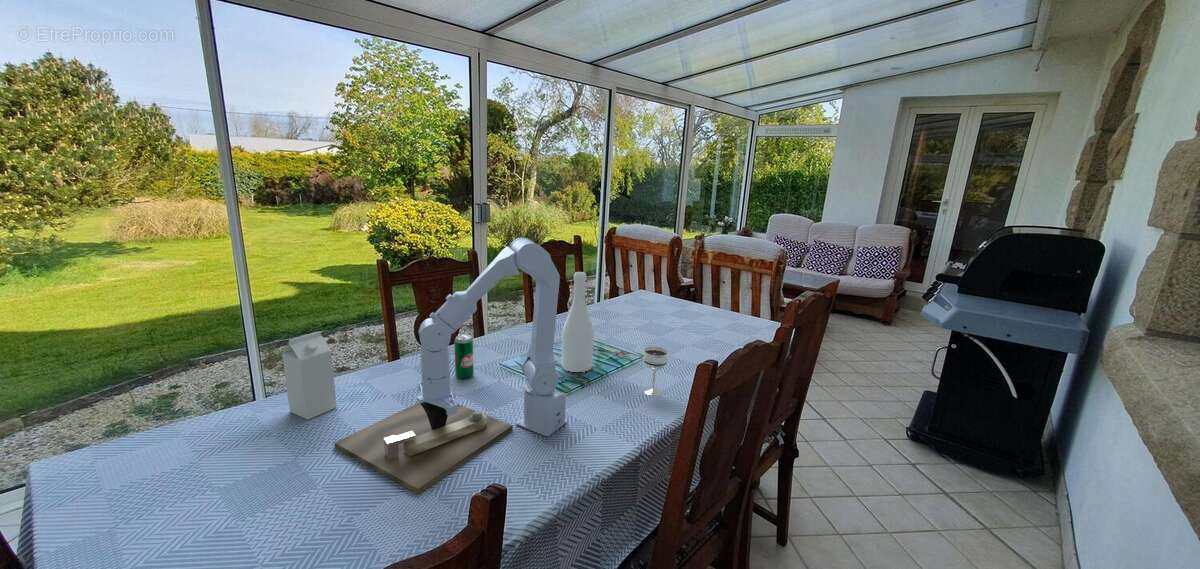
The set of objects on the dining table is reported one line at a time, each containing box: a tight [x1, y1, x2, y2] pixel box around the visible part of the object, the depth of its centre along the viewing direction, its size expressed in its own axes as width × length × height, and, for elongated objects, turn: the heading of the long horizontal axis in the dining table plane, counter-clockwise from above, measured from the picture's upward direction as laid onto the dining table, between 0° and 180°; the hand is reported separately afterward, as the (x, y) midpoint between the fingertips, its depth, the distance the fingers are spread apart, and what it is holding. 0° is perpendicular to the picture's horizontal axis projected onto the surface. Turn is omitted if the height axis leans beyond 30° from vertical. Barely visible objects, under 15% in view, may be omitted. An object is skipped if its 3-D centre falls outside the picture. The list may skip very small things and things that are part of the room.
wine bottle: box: [561, 271, 595, 373], centre depth 137 cm, size 10×10×30 cm
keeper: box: [384, 431, 416, 461], centre depth 92 cm, size 6×2×4 cm, turn 130°
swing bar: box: [403, 410, 487, 456], centre depth 98 cm, size 18×4×3 cm, turn 134°
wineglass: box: [642, 346, 669, 396], centre depth 126 cm, size 7×7×12 cm
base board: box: [334, 401, 514, 495], centre depth 100 cm, size 26×26×1 cm
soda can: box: [453, 334, 475, 380], centre depth 130 cm, size 5×5×12 cm
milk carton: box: [282, 331, 338, 421], centre depth 107 cm, size 7×7×19 cm
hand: (438, 431), depth 100 cm, fingers closed
